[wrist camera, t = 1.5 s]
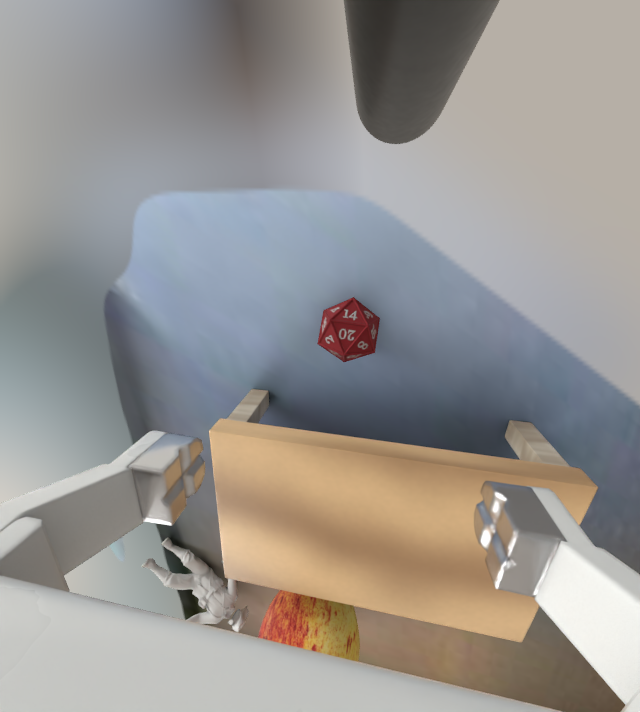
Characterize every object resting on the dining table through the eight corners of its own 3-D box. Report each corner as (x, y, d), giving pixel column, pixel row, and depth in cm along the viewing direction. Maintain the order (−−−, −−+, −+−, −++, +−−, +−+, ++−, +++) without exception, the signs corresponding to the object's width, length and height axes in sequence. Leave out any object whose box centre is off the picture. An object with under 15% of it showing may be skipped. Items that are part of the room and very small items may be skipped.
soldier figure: (185, 514, 33) (263, 598, 30) (200, 513, 37) (269, 587, 34) (125, 581, 30) (204, 683, 27) (148, 572, 35) (219, 659, 31)
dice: (382, 296, 20) (384, 307, 17) (371, 356, 22) (371, 378, 18) (328, 288, 21) (318, 298, 17) (321, 348, 22) (311, 369, 19)
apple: (295, 534, 30) (261, 663, 21) (377, 571, 30) (379, 718, 20) (268, 583, 33) (228, 713, 24) (341, 616, 33) (329, 760, 24)
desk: (248, 385, 25) (208, 430, 19) (536, 420, 22) (599, 487, 16) (254, 510, 30) (224, 578, 24) (488, 553, 27) (521, 643, 21)
